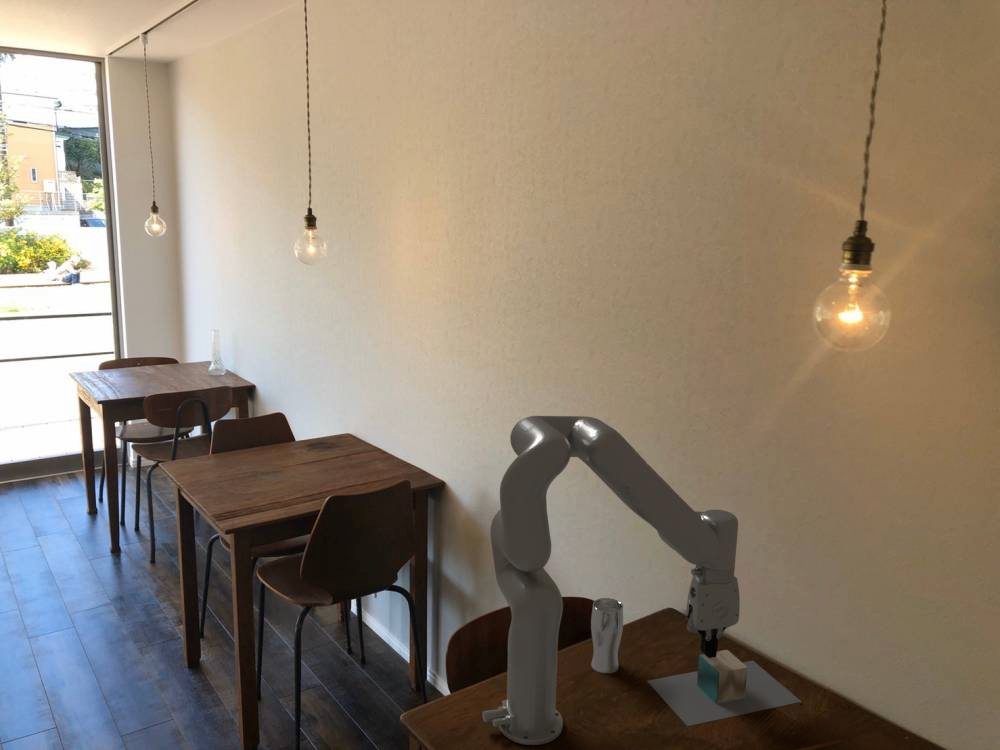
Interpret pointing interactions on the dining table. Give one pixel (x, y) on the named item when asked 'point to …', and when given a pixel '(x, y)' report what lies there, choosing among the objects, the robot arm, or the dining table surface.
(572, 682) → the dining table surface
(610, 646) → the beer glass
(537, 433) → the robot arm
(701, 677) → the birch cube
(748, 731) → the dining table surface
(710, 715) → the rubber mat
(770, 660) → the dining table surface
